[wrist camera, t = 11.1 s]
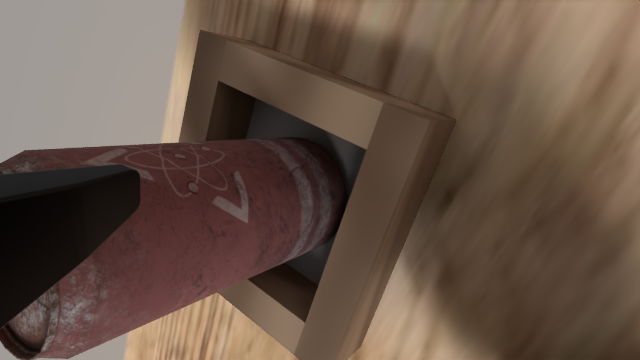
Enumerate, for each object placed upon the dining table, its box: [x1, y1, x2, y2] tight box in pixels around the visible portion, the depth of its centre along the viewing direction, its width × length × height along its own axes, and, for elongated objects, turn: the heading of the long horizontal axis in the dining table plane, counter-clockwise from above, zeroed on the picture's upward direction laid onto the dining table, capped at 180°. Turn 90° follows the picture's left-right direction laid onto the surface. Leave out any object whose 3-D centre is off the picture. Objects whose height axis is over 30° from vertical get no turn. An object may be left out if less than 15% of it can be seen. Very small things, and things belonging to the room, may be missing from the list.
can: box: [0, 137, 346, 360], centre depth 17 cm, size 6×6×14 cm
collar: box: [179, 30, 456, 360], centre depth 22 cm, size 13×13×4 cm
